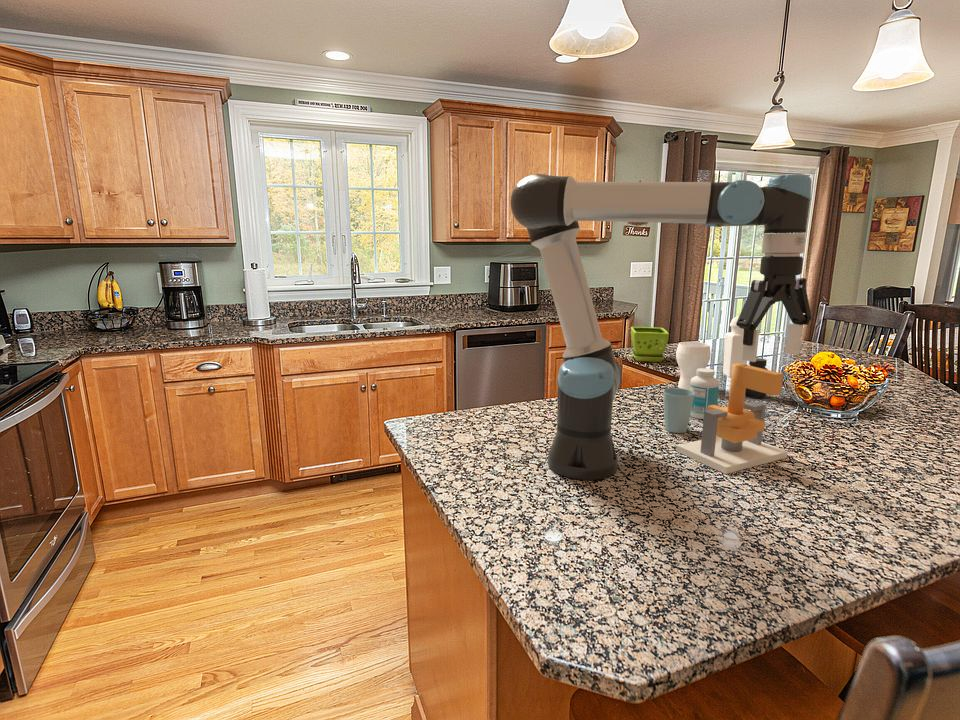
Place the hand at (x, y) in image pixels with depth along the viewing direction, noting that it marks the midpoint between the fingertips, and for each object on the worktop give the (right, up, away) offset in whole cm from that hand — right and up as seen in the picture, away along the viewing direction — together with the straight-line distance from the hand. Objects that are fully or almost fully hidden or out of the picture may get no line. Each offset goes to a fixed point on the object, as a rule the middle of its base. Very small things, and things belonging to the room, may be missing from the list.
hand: (771, 357), depth 113 cm
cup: (-10, -19, +28) cm, 35 cm away
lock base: (-3, -23, +11) cm, 26 cm away
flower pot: (+8, 0, +110) cm, 110 cm away
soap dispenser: (+32, -6, +83) cm, 89 cm away
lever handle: (-3, -18, +9) cm, 21 cm away
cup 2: (+9, -10, +67) cm, 69 cm away
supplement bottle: (+26, -12, +58) cm, 65 cm away
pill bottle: (+1, -17, +39) cm, 42 cm away
